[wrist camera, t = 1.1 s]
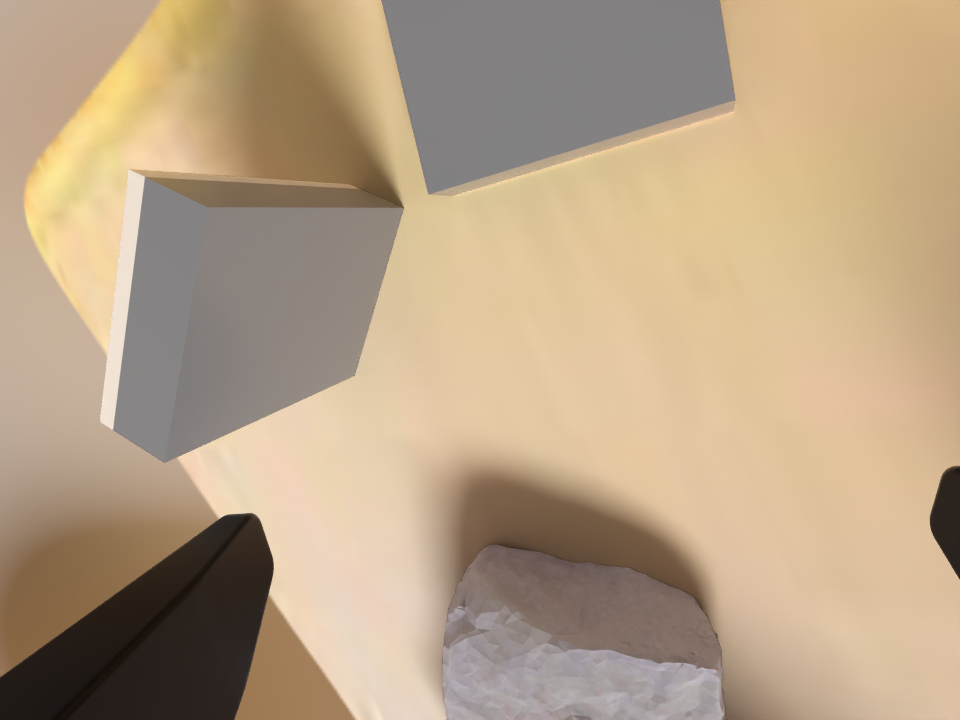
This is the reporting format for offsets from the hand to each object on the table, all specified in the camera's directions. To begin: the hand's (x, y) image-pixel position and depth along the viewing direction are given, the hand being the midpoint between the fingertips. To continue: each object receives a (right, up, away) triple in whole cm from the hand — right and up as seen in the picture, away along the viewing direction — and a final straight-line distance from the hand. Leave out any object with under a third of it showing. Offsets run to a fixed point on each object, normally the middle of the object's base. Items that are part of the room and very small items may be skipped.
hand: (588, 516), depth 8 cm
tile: (-6, +5, +15) cm, 17 cm away
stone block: (+3, -11, +16) cm, 19 cm away
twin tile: (+1, +12, +10) cm, 16 cm away
